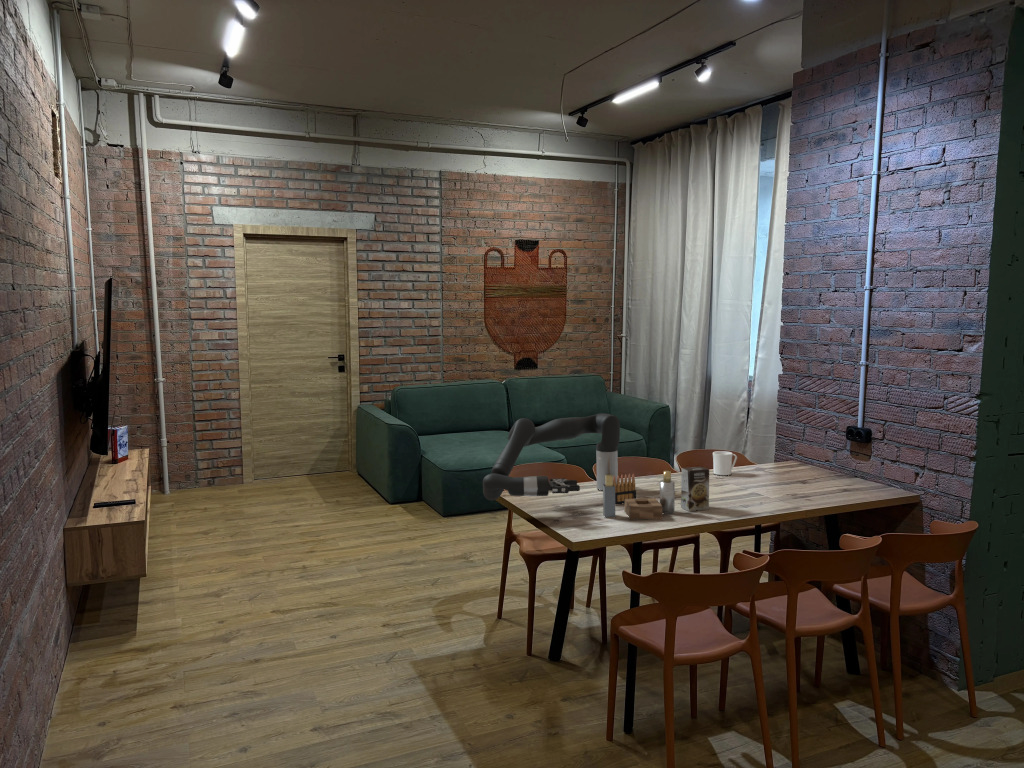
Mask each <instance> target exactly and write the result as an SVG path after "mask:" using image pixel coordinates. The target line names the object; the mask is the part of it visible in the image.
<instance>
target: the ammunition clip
mask: <svg viewBox="0 0 1024 768" xmlns="http://www.w3.org/2000/svg"><path fill="white" fill-rule="evenodd" d="M613 484H614V486H615V504H620V505H623V504H622V503H625V499H636V498H637V490H636V478H635V473H634V472H633V473H632V475H631V473H628V475H627V474H626V473H625V475H623V474H621V476H620V475H619V474H618V476H617V484H616V478H615V475H614V477H613Z"/></svg>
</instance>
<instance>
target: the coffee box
mask: <svg viewBox="0 0 1024 768" xmlns="http://www.w3.org/2000/svg"><path fill="white" fill-rule="evenodd" d="M680 480H681V482H680V485H681V487H680V488H681V489H680V490H681V491H680V508H681V509H683V510H686V511H687V512H696V510H698V511H706V510H709V509H710V469H709V468H707V467H705V466H704V467H703V466H693V467H692V466H691V467H690V466H689V467H688V466H687V467H681V479H680Z"/></svg>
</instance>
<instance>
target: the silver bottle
mask: <svg viewBox="0 0 1024 768" xmlns="http://www.w3.org/2000/svg"><path fill="white" fill-rule="evenodd" d="M662 472H663V475H662V476H663V480H660V481H659V503H660V504H661V505H662V513H664V514H663V515H673V514H672V513H674V512H676V511H675V507H676V505H675V502H676V500H675V497H676V496H675V492H676V491H675V487H676V485H675V481H674V480H672V472H671V470H663V471H662ZM674 514H675V513H674Z"/></svg>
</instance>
